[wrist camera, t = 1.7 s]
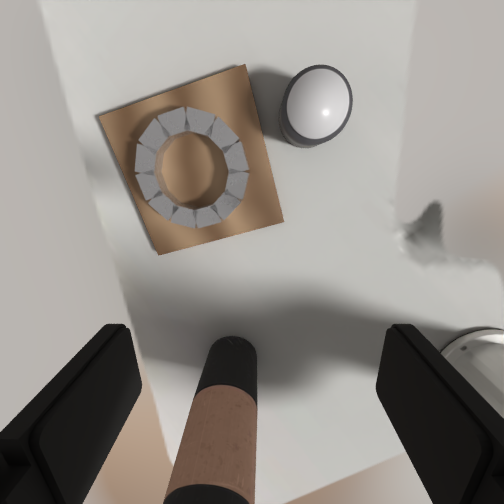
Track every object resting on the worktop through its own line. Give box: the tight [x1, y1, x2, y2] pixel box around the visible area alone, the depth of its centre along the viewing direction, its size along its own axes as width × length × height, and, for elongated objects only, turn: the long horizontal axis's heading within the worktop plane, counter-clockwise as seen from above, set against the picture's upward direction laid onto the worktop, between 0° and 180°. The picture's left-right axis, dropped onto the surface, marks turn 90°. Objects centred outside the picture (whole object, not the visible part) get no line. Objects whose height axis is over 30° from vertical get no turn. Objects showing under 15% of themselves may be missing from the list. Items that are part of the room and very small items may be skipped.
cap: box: [279, 65, 353, 148], centre depth 23 cm, size 6×6×5 cm
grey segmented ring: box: [135, 107, 250, 228], centre depth 26 cm, size 12×12×2 cm
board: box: [99, 64, 284, 256], centre depth 27 cm, size 16×16×1 cm
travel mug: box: [163, 336, 257, 504], centre depth 27 cm, size 8×8×20 cm
